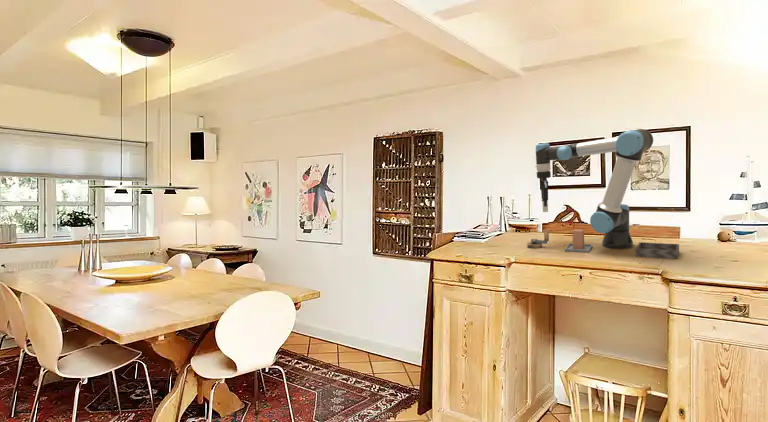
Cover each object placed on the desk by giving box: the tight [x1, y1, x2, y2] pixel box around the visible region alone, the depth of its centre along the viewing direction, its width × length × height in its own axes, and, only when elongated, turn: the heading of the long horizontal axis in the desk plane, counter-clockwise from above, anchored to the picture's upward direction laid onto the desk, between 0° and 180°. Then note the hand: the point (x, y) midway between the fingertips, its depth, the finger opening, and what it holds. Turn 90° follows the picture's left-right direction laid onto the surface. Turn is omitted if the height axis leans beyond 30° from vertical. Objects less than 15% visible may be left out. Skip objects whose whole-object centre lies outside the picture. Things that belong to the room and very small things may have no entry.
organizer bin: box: [635, 241, 680, 260], centre depth 239 cm, size 18×14×4 cm
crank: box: [530, 229, 551, 245], centre depth 272 cm, size 10×4×8 cm, turn 54°
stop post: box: [572, 228, 585, 249], centre depth 261 cm, size 5×5×10 cm
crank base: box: [526, 241, 543, 249], centre depth 275 cm, size 8×8×2 cm
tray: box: [564, 242, 593, 253], centre depth 261 cm, size 12×12×2 cm
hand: (545, 211), depth 277 cm, fingers closed
